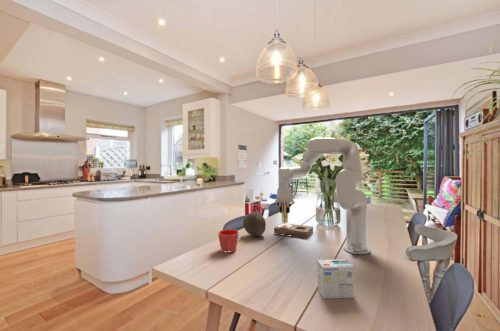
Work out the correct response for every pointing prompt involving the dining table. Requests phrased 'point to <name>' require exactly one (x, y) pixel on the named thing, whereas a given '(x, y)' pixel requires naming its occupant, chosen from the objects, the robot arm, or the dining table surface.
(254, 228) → the cantaloupe
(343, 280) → the light bulb box
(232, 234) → the flower pot
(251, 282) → the dining table surface
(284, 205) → the brass peg
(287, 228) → the brown flat wooden block
